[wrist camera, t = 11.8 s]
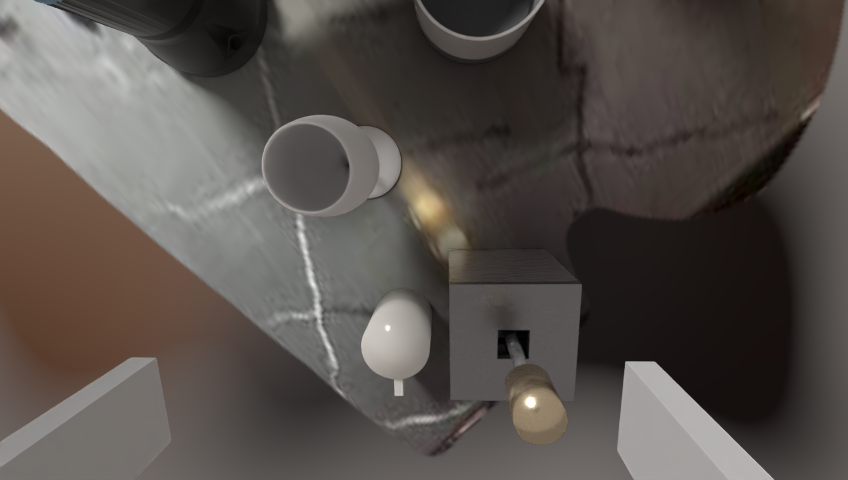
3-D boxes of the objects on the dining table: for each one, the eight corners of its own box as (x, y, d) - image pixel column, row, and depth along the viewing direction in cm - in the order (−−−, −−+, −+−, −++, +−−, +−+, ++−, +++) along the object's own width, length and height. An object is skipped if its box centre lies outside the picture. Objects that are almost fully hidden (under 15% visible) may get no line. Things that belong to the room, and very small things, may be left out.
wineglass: (380, 112, 47) (328, 80, 26) (413, 178, 48) (389, 196, 28) (318, 147, 48) (222, 141, 27) (352, 210, 49) (286, 249, 29)
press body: (449, 336, 52) (450, 400, 39) (448, 249, 50) (449, 284, 36) (540, 337, 52) (574, 401, 38) (544, 248, 49) (582, 284, 36)
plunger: (459, 333, 50) (470, 479, 28) (459, 262, 48) (471, 357, 26) (533, 333, 50) (606, 482, 27) (536, 262, 48) (618, 358, 25)
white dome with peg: (377, 362, 54) (364, 403, 45) (374, 288, 51) (359, 315, 43) (433, 363, 53) (430, 404, 44) (432, 288, 51) (429, 316, 42)
